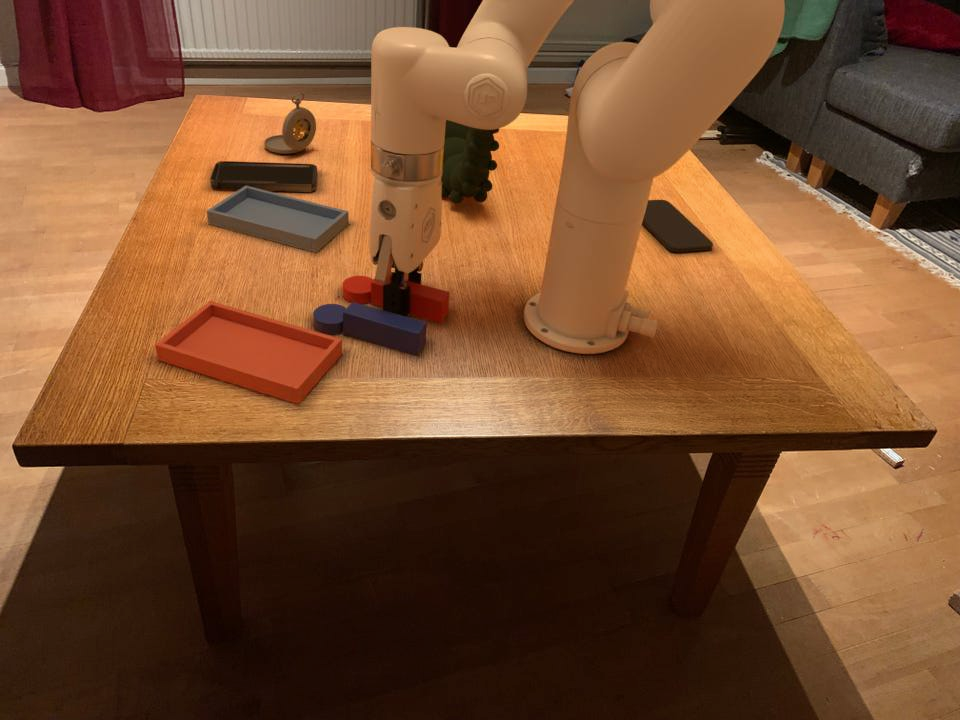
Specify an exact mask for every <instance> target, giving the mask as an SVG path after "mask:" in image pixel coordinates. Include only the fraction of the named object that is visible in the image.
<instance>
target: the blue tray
mask: <svg viewBox="0 0 960 720" xmlns="http://www.w3.org/2000/svg"><path fill="white" fill-rule="evenodd" d="M206 216H207V217H206V218H207V223H208V225H211V226H213V227H217V228H220V229H221V228H222V229H225V230H229V231H233V232H236V233H240V234H243V235H244V234H245V235H248V236H252V237H256V238H258V239H263V240H266V241H271V242H274V243H278V244H281V245H285V246H289V247H292V248H296V249H301V250H304V251H308V252H311V253H315V254H316V253H318V252H319V251H320V250H321V249H322V248H324V247H325V246H326V245H327V244H328V243H329V242H330V241H331V240H333V239H334V238H335V237H336V236H337V235H338V234H339V233H341V232H342V231H343V230H344V229H345V228H346V227H348V225H350V223H349V220H350V219H349V210H344V209H341V208H337V207H332V206H328V205H325V204H321V203H316V202H313V201H309V200H305V199H301V198H297V197H292V196H289V195H285V194H282V193H281V194H280V193H277V192H274V191H266V190H262V189H258V188H254V187H249V186H244V187H243V188H241V189H240V190H236V191H235V192H233V193H232V194H230V195H229V196H227V197H225V198H224V199H223V200H221V201H219V202H218V203H216V204H215V205H213V206H211V207H210V208H208V209H207V210H206Z"/></svg>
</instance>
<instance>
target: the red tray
mask: <svg viewBox="0 0 960 720" xmlns="http://www.w3.org/2000/svg"><path fill="white" fill-rule="evenodd" d="M154 347H155V352H156V358H157V361H159V362H163V363H166V364H168V365H172V366H176V367H179V368H182V369H185V370H188V371H190V372H194V373H198V374H201V375H203V376H207V377H210V378H214V379H217V380H220V381H223V382H226V383H229V384H233V385H236V386H239V387H241V388H245V389H248V390H251V391H255V392H258V393H261V394H265V395H267V396H271V397H273V398H277V399H280V400H284V401H286V402H289V403H293V404H296V405H300V404H301V402H302V401H303V400H304V399H305V398H306V396H307V395H308V394H309V393H310V392H311V391H312V390H313V389H314V387H315V386H316V385H317V384H318V383H319V382H320V381H321V379H322V378H323V377H324V376H325V375H326V373H328V371H329V370H330V369H331V367H332V366H333V365H334V364H335V363H336V362H337V361H338V359H339V358H340V357H341V356H342V355H343V339H342V338H340V337H336V336H333V335H330V334H323V333H321V332H319V331H317V330H311V329H308V328H305V327H302V326H298V325H295V324H291V323H288V322H284V321H281V320H279V319H278V320H277V319H275V318H272V317H268V316H264V315H262V314H261V315H260V314H258V313H253V312H250V311H247V310H243V309H240V308H237V307H234V306H230V305H226V304H223V303H219V302H216V301H213V300H208V302H206V303H205V304H204V305H202V306H201V307H200V308H198V310H196V311H195V312H194V313H192V314H191V315H190V316H189V317H188V318H186V319H185V320H184V321H183V322H181V323H180V324H179V325H178V326H176V327H175V328H174V329H173V330H171V331H170V332H169V333H168V334H166V335H165V336H164V337H163V338H161V339H160V340H159V341H157V342H156V343H155V344H154Z"/></svg>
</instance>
